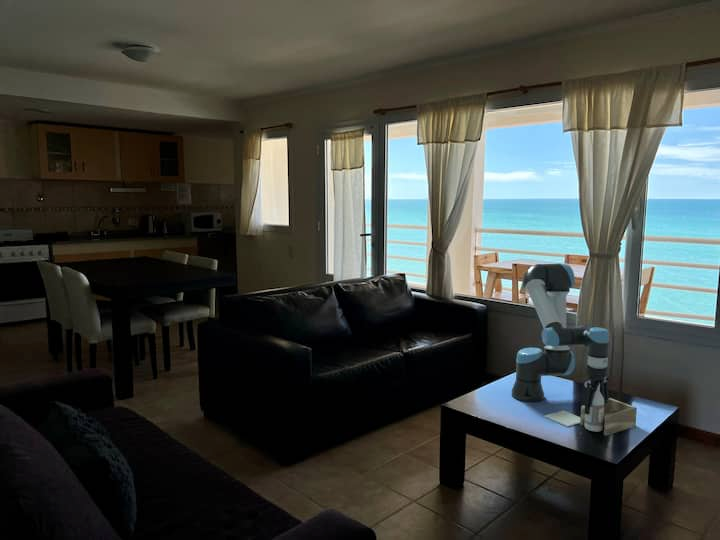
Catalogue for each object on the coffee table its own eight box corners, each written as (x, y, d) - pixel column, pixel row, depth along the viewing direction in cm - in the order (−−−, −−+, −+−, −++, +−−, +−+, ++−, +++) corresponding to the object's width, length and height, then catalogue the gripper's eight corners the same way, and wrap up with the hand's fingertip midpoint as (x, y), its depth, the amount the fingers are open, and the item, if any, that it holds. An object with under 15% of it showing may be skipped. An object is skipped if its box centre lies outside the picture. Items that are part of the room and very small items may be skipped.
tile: (544, 416, 226) (544, 415, 226) (563, 411, 232) (563, 410, 232) (567, 427, 216) (567, 425, 216) (586, 421, 221) (586, 419, 221)
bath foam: (596, 433, 208) (599, 386, 206) (580, 427, 214) (583, 381, 211) (606, 429, 212) (608, 383, 210) (590, 423, 218) (593, 378, 215)
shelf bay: (580, 424, 218) (581, 406, 217) (609, 415, 228) (610, 398, 226) (606, 435, 208) (607, 417, 207) (635, 425, 217) (636, 407, 216)
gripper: (589, 372, 201) (586, 428, 204) (620, 364, 211) (617, 417, 214) (573, 367, 208) (570, 421, 211) (604, 359, 218) (601, 411, 221)
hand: (594, 419), depth 213 cm, fingers closed on bath foam, 7 cm apart
